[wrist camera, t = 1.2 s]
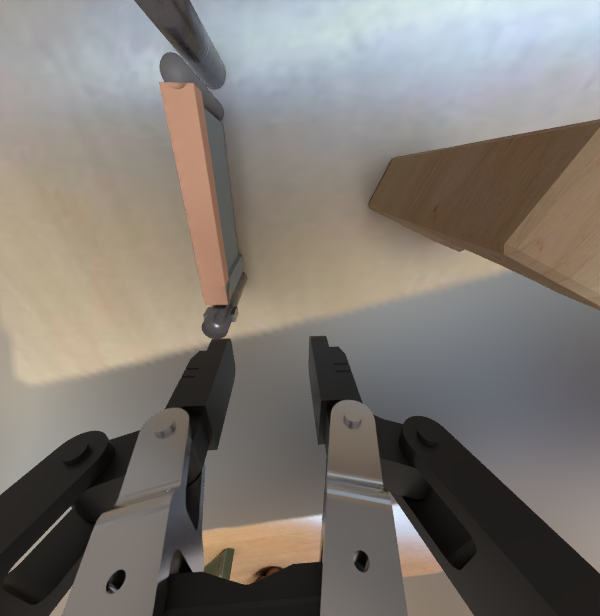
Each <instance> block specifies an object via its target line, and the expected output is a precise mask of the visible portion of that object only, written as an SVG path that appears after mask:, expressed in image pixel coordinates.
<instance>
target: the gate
mask: <svg viewBox="0 0 600 616" xmlns="http://www.w3.org/2000/svg"><path fill="white" fill-rule="evenodd" d="M160 72H161V75H162V77H163V79H164V81H165V82H159V84H160V89H161V94H162V99H163V104H164V108H165V113H166V118H167V123H168V128H169V132H170V137H171V142H172V147H173V152H174V157H175V161H176V166H177V171H178V176H179V181H180V185H181V190H182V195H183V200H184V205H185V210H186V214H187V219H188V224H189V229H190V234H191V238H192V243H193V248H194V253H195V258H196V263H197V267H198V272H199V277H200V282H201V287H202V291H203V296H204V301H205V305H228V304H229V301H230V299H231V297H232V294H233V292H234V290H235V288H236V285H237V283H238V281H239V279H240V276H241V274H242V272H243V261H242V255H238V247H237V238H236V230H235V221H234V213H233V205H232V196H231V188H230V179H229V171H228V163H227V154H226V146H225V137H224V129H223V124H222V123H221V122H220V120H221V119H222V118H223V114H224V111H223V107H222V105H221V104H220V103H219V101H218V100H217V99H216V98H215V97H214V96H213V94H212V93H211V92H210V91H209V90H208V88H207V87H206V86H205V85H204V84H203V83H202V81H201V80H200V79H199V78H198V77H197V75H196V74H195V73H194V72H193V71H192V70H191V68H190V67H189V66H188V65H187V64H186V63H185V61H184V60H183V59H182V58H181V57H180V56H179V55H177V54H175V53H172V52H169V53H166V54H164V55H163V57H162V58H161V61H160Z"/></svg>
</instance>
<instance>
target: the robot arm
mask: <svg viewBox="0 0 600 616" xmlns="http://www.w3.org/2000/svg"><path fill="white" fill-rule="evenodd" d="M234 378H235V361H234V355H233V349H232V343H231V339H212V340H211V342H210V344H209V347H208V349H207V351H199V352H198V353H197V354H196V355H195V356H194V357H192V358H191V360H190V361H189V363H188V365H187V367H186V370H185V371H184V373H183V375H182V378H181V379H180V381H179V383H178V385H177V387H176V389H175V390H174V392H173V394H172V397H171V398H170V400H169V402H168V404H167V406H166V408H165V410H162V411H160V412H158V413H156V414H155V415H153V416H152V417H151V418H149V419H148V420H147V421H146V422H145V424H144V425H143V426H142V428H141V430H139V431H136V432H133V433H130V434H127V435H124V436H121V437H118V438H115V439H111V440H109V439H108V437H107V436H106V435H105V433H103V432H100V431H89V432H86V433H82V434H80V435H77V436H75V437H73V438H72V439H70V440H68V441H67V442H65V443H64V444H62V445H61V446H60V447H58V448H57V449H56V450H55V451H53V452H52V453H51V454H50V455H49V456H47V457H46V458H45V459H44V460H43V461H41V462H40V463H39V464H38V465H36V466H35V467H34V468H33V469H32V470H30V471H29V472H28V473H27V474H25V475H24V476H23V477H22V478H21V479H20V480H18V481H17V482H16V483H14V484H13V485H12V486H11V487H10V488H9V489H7V490H6V491H5V492H3V493H2V494H1V495H0V616H49V615H50V614H51V612H52V611H53V610H54V608H55V607H56V606H57V604H58V603H59V602H60V601H61V599H62V598H63V597H64V595H65V594H66V593H67V591H68V590H69V589H70V588H71V586H72V585H73V586H72V589H71V591H70V594H69V597H68V600H67V603H66V605H65V608H64V611H63V614H62V616H408V614H407V606H406V600H405V593H404V586H403V579H402V572H401V565H400V558H399V551H398V544H397V537H396V530H395V523H394V517H393V510H392V504H391V499H390V496H389V494H388V492H387V491H389V492H391V494H392V495H393V497H394V498H395V500H396V501H397V503H398V504H399V506H400V507H401V509H402V510H403V512H404V513H405V515H406V516H407V518H408V519H409V520H410V522H411V523H412V525H413V526H414V528H415V529H416V531H417V532H418V534H419V535H420V537H421V538H422V540H423V541H424V543H425V544H426V545H427V547H428V548H429V550H430V551H431V553H432V554H433V556H434V557H435V559H436V560H437V562H438V563H439V565H440V566H441V568H442V569H443V570H444V572H445V573H446V575H447V576H448V578H449V579H450V581H451V582H452V584H453V585H454V587H455V588H456V589H457V591H458V593H459V594H460V595H461V597H462V598H463V600H464V601H465V603H466V604H467V605H468V607H469V609H470V610H471V611H472V613H473V615H474V616H600V574H599V573H598V572H597V571H596V570H595V569H594V568H593V567H592V566H591V565H590V564H589V563H588V562H587V561H586V560H585V559H584V558H582V557H581V556H580V555H579V554H578V553H577V552H576V551H575V550H574V549H573V548H572V547H571V546H570V545H569V544H568V543H566V542H565V541H564V540H563V539H562V538H561V537H560V536H559V535H558V534H557V533H556V532H554V530H552V529H551V528H550V527H549V526H548V525H547V524H546V523H545V522H544V521H543V520H542V519H541V518H540V517H539V516H538V515H536V514H535V513H534V512H533V511H532V510H531V509H530V508H529V507H528V506H527V505H526V504H525V503H524V502H523V501H522V500H520V499H519V498H518V497H517V496H516V495H515V494H514V493H513V492H512V491H511V490H510V489H509V488H508V487H507V486H505V485H504V484H503V483H502V482H501V481H500V480H499V479H498V478H497V477H496V476H495V475H494V474H493V473H492V472H491V471H490V470H488V469H487V468H486V467H485V466H484V465H483V464H482V463H481V462H480V461H479V460H478V459H477V458H476V457H475V456H473V455H472V454H471V453H470V452H469V451H468V450H467V449H466V448H465V447H463V445H462V444H461V443H459V441H457V440H456V439H455V438H454V437H453V436H452V435H451V434H450V433H449V432H448V431H447V430H446V429H444V427H442V426H441V425H440V424H439V423H437V422H435V421H434V420H431V419H429V418H427V417H423V416H412V417H410V418H408V419H407V420H406V421H405V422H404V424H400V423H396V422H392V421H388V420H384V419H381V418H379V417H377V416H375V415H374V414H372V413H371V411H370V410H369V408H368V407H366V406H365V405H364V404H363V403H362V400H361V397H360V395H359V392H358V389H357V386H356V383H355V380H354V378H353V375H352V372H351V369H350V366H349V364H348V360H347V357H346V355H345V353H344V352H343V351H342V350H341V349H340V348H339V347H329V345H328V341H327V338H326V336H310V338H309V378H310V386H311V394H312V402H313V410H314V417H315V425H316V433H317V440H318V445H319V444H325V448H326V455H327V458H326V470H325V486H324V500H323V515H322V530H321V542H320V555H319V562H312V563H300V564H292V565H290V566H288V567H286V568H284V569H282V570H280V571H277V572H275V573H273V574H271V575H269V576H267V577H265V578H262V579H260V580H258V581H256V582H254V583H252V584H249V585H244V584H240V583H237V582H234V581H230V580H227V579H224V578H221V577H218V576H215V575H212V574H209V573H206V572H204V550H203V542H202V521H203V502H204V483H205V464H204V462H205V458H206V455H207V451H208V450H217V449H218V445H219V440H220V436H221V432H222V428H223V424H224V420H225V416H226V412H227V408H228V404H229V399H230V396H231V392H232V387H233V383H234ZM70 506H71V507H72V510H70V512H69V513H68V514H67V515H66V516H65V517H64V518H63V519H62V520H61V521H60V522H59V523H58V524H57V525H56V526H55V527H54V528H53V529H52V530H51V532H50V533H49V534H48V535H47V536H46V537H45V538H44V539H43V540H42V541H41V542H40V543H39V544H38V545H37V546H36V547H35V548H34V549H33V550H32V552H31V553H30V554H29V555H28V556H27V557H26V558H25V559H24V560H23V561H22V562H21V563H20V564H19V565H18V566H17V567H16V568H15V569H14V570H12V571H11V572H9V571H10V569H11V568H12V567H13V566H14V564H15V563H16V562H17V561H18V560H19V559H20V558H21V557H22V556H23V555H24V554H25V553H26V552H27V551H28V550H29V549H30V548H31V546H32V545H33V544H34V543H35V542H36V541H37V540H38V539H39V538H40V537H41V536H42V535H43V534H44V533H45V532H46V531H47V530H48V529H49V528H50V527H51V526H52V525H53V524H54V523H55V522H56V520H58V519H59V518H60V516H61V515H62V514H63V513H64V512H65V511H66V510H67V509H68V508H69V507H70ZM8 572H9V573H8Z"/></svg>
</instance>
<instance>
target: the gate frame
mask: <svg viewBox="0 0 600 616" xmlns="http://www.w3.org/2000/svg"><path fill="white" fill-rule="evenodd" d="M134 1H135V2H136V3H137V4H138V5H139V7H140V8H141V9H142V10H143V11H144V12H145V14H146V15H147V16H148V17H149V18H150V20H151V21H152V22H153V23H154V24H155V26H156V27H157V28H158V29H159V30H160V32H161V33H162V34H163V35H164V36H165V37H166V39H167V40H168V41H169V42H170V43H171V45H172V46H173V47H174V48H175V49H176V51H177V52H178V53H179V54H180V55H181V57H182V58H183V59H184V60H185V61H186V62H187V64H188V65H189V66H190V67H191V68H192V70H193V71H194V72H195V73H196V74H197V76H198V77H199V78H200V79H201V80H202V81H203V83H204V84H205V85H206V86H207V87H209V88H212V89H218V88H220V87H221V86H222V85H223V83H224V81H225V77H226V72H225V67H224V64H223V62H222V60H221V59H220V57H219V55H218V53H217V51H216V49H215V47H214V45H213V43H212V42H211V40H210V38H209V36H208V34H207V32H206V30H205V28H204V26H203V25H202V23H201V21H200V19H199V17H198V15H197V13H196V11H195V9H194V8H193V6H192V4H191V2H190V0H134ZM246 280H247V277H246V275H245V273H244V272H242V274H241V276H240V279H239V281H238V283H237V285H236V288H235V290H234V292H233V294H232V297H231V299H230V301H229V304H228V305H213V306H212V307H208V308H207V310H206V312H205V313H204V315H203V316H204V322H203V324H202V331H203V332H204V334H205V335H206V336H208V337H209V338H212V339H221V338H223V337H225V336H226V334H227V332H228V330H229V327H230V324H231V322H235V321H236V318H237V316H238V308H237V305H238V302H239V300H240V297H241V294H242V291H243V289H244V286H245V283H246Z"/></svg>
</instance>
